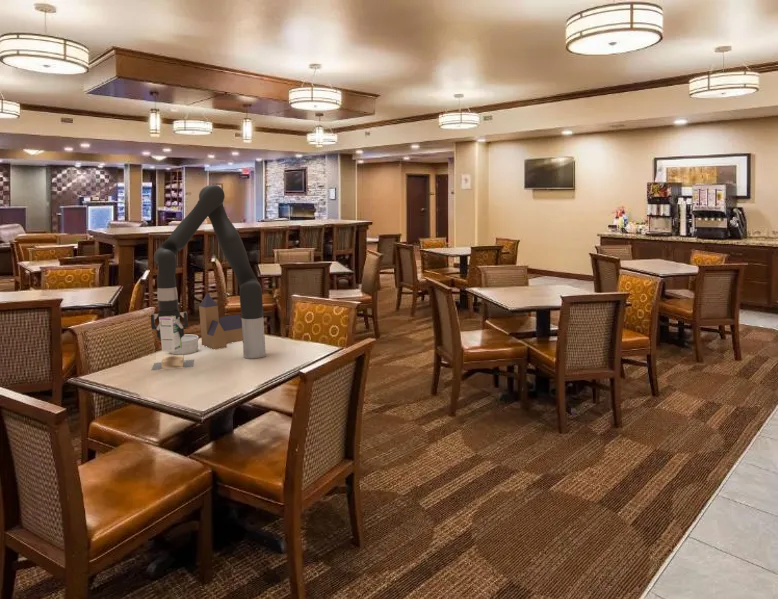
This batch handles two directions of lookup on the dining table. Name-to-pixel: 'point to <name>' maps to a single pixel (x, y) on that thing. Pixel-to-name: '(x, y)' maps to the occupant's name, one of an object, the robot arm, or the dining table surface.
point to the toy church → (218, 325)
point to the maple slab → (172, 361)
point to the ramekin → (188, 344)
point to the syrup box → (170, 334)
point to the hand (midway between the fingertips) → (170, 337)
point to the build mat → (186, 364)
